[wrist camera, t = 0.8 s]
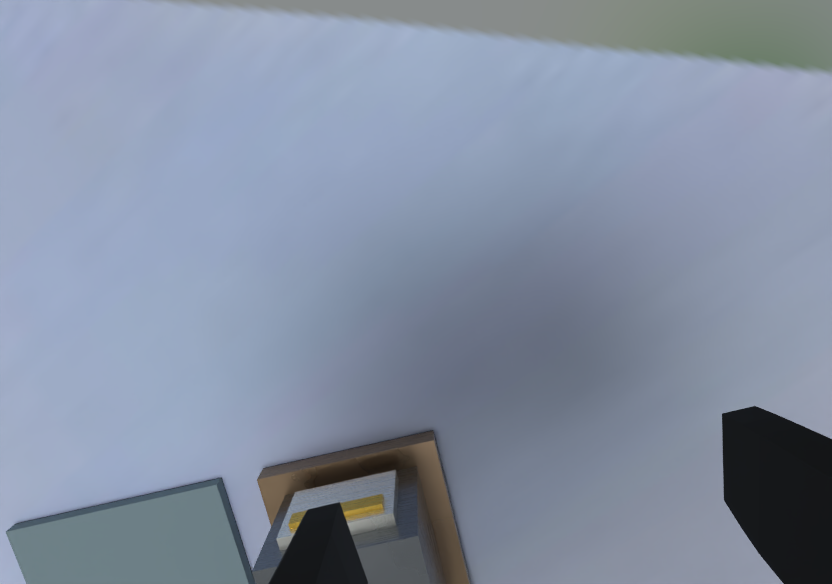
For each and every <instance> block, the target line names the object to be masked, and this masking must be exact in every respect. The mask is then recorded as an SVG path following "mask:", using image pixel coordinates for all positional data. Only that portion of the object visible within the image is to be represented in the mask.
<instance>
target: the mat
mask: <svg viewBox="0 0 832 584" xmlns="http://www.w3.org/2000/svg"><path fill="white" fill-rule="evenodd" d="M6 534H7V536H8V539H9V541H10V544H11V546H12V549H13V551H14V554H15V556H16V559H17V561H18V564H19V566H20V569H21V571H22V574H23V576H24V579H25V581H26V584H255V581H254V578H253V575H252V572H251V569H250V566H249V563H248V559H247V556H246V553H245V550H244V547H243V544H242V541H241V538H240V535H239V532H238V528H237V525H236V522H235V519H234V516H233V513H232V510H231V507H230V504H229V500H228V497H227V494H226V491H225V488H224V485H223V482H222V479H221V478H219V479H214V480H210V481H205V482H201V483H196V484H192V485H188V486H183V487H179V488H174V489H170V490H165V491H161V492H156V493H152V494H147V495H143V496H138V497H134V498H130V499H125V500H121V501H116V502H112V503H107V504H103V505H98V506H94V507H89V508H85V509H80V510H76V511H72V512H67V513H63V514H58V515H54V516H49V517H45V518H40V519H36V520H31V521H27V522H22V523H18V524H15V525H14V526H12V527H11V528H10V529H9V530H7V531H6Z"/></svg>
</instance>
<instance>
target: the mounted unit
mask: <svg viewBox="0 0 832 584" xmlns="http://www.w3.org/2000/svg"><path fill="white" fill-rule="evenodd" d="M257 481H258V485H259V488H260V491H261V494H262V498H263V501H264V504H265V507H266V511H267V514H268V517H269V520H270V523H271V529H270V531H269V533H268V536H267V538H266V540H265V543H264V545H263V547H262V550H261V552H260V554H259V557H258V559H257V561H256V564H255V566H254V568H253V571H252V574H253V577H254V580H255V583H256V584H268V583H269V581H270V580H271V578H272V576H273V574H274V572H275V570H276V568H277V566H278V565H279V563H280V561H281V559H282V557H283V555H284V553H285V551H286V549H287V547H288V545H289V543H290V542H291V540H292V538H293V536H294V534H295V532H296V530H297V528H298V526H299V524H300V522H301V520H302V518H303V516H304V515H305V513H306V512H307V510H308V509H312V508H316V507H321V506H325V505H329V504H334V503H338V502H340V504H341V507H342V510H343V513H344V516H345V518H346V521H347V524H348V527H349V530H350V533H351V535H352V538H353V541H354V544H355V547H356V550H357V552H358V555H359V558H360V561H361V564H362V567H363V569H364V572H365V575H366V578H367V581H368V584H471V583H470V579H469V575H468V571H467V566H466V562H465V558H464V554H463V550H462V546H461V542H460V538H459V534H458V530H457V526H456V522H455V518H454V513H453V509H452V505H451V501H450V497H449V493H448V489H447V485H446V481H445V477H444V473H443V469H442V464H441V460H440V456H439V452H438V448H437V444H436V440H435V436H434V432H433V431H429V432H424V433H420V434H415V435H411V436H406V437H402V438H397V439H393V440H388V441H384V442H379V443H375V444H371V445H366V446H362V447H357V448H353V449H348V450H344V451H339V452H335V453H330V454H326V455H321V456H317V457H313V458H308V459H304V460H299V461H295V462H290V463H286V464H281V465H277V466H272V467H268V468H263V470H262V472H261V473H260V475H259V477H258V479H257Z"/></svg>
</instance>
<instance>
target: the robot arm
mask: <svg viewBox="0 0 832 584" xmlns="http://www.w3.org/2000/svg"><path fill="white" fill-rule="evenodd" d="M722 429H723V475H724V501H725V503H726V504H727V506H728V507H729V509H730V510H731V512H732V514H733V515H734V517H735V518H736V520H737V521H738V523H739V525H740V526H741V528H742V529H743V531H744V532H745V534H746V535H747V537H748V538H749V540H750V541H751V542H752V544H753V545H754V547H755V548H756V550H757V551H758V553H759V554H760V555H761V557H762V558H763V559H764V560H765V561H766V563H767V564H768V565H769V566H770V568H771V569H772V570H773V571H774V572H775V574H776V575H777V576H778V577H779V579H780V580H781V581H782V582H783V583H784V584H832V439H830V438H828V437H826V436H823V435H821V434H819V433H817V432H814V431H812V430H810V429H808V428H805V427H803V426H801V425H799V424H796V423H794V422H792V421H790V420H787V419H785V418H783V417H780V416H778V415H776V414H773V413H771V412H769V411H766V410H764V409H761V408H759V407H756V406H753V407H749V408H745V409H740V410H736V411H732V412H727V413H723V414H722ZM268 584H368V581H367V578H366V575H365V572H364V569H363V567H362V564H361V561H360V558H359V555H358V552H357V550H356V547H355V544H354V541H353V538H352V535H351V533H350V530H349V527H348V524H347V521H346V518H345V516H344V513H343V510H342V507H341V504H340V502H338V503H334V504H329V505H325V506H321V507H316V508H312V509H308V510H307V512H306V513H305V515H304V516H303V518H302V520H301V522H300V524H299V526H298V528H297V530H296V532H295V534H294V536H293V538H292V540H291V542H290V543H289V545H288V547H287V549H286V551H285V553H284V555H283V557H282V559H281V561H280V563H279V565H278V566H277V568H276V570H275V572H274V574H273V576H272V578H271V580H270V581H269V583H268Z"/></svg>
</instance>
